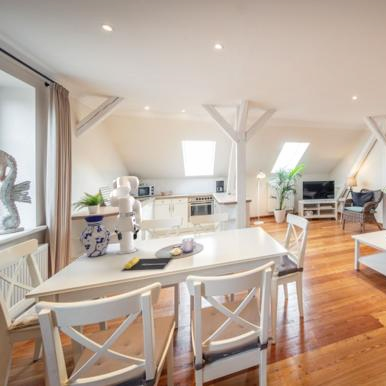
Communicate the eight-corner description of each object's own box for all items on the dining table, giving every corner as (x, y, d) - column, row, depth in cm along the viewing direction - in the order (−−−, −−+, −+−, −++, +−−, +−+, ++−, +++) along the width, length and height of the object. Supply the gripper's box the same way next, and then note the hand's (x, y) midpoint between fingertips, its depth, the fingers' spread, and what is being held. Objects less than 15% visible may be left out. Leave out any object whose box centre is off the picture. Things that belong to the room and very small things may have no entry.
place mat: (136, 259, 166) (136, 259, 166) (172, 258, 169) (172, 257, 169) (121, 271, 146) (121, 270, 146) (162, 269, 149) (162, 269, 149)
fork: (141, 266, 154) (141, 265, 154) (142, 264, 156) (142, 263, 156) (164, 265, 156) (164, 264, 156) (166, 263, 158) (166, 263, 158)
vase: (81, 261, 162) (78, 221, 159) (80, 254, 176) (77, 216, 173) (113, 254, 175) (110, 217, 172) (110, 248, 189) (107, 213, 186)
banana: (135, 260, 162) (135, 255, 162) (141, 260, 163) (141, 255, 162) (123, 270, 147) (123, 264, 147) (130, 269, 148) (129, 264, 147)
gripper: (142, 213, 156) (143, 237, 157) (115, 214, 154) (117, 238, 156) (136, 215, 149) (138, 240, 150) (109, 216, 147) (110, 241, 148)
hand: (127, 239), depth 153 cm, fingers open, 9 cm apart
